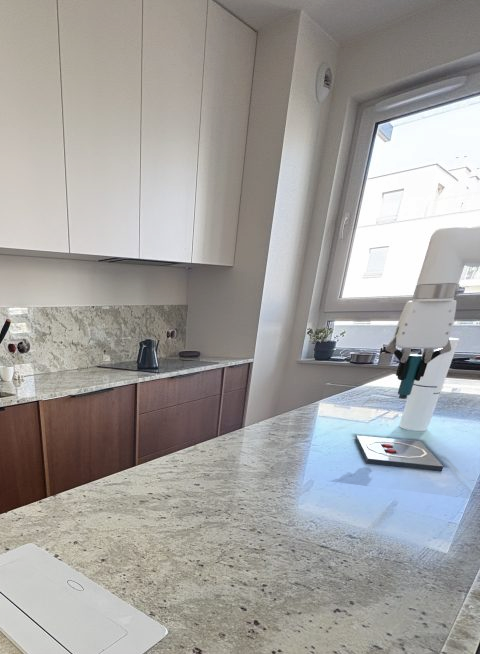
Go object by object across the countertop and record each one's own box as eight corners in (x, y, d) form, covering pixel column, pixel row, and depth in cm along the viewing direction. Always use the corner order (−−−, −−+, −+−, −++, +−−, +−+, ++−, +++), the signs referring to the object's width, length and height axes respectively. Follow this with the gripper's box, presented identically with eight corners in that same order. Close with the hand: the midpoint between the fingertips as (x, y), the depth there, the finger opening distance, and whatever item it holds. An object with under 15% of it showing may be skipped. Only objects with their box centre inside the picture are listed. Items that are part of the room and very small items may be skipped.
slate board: (419, 445, 112) (420, 440, 111) (441, 471, 96) (443, 466, 95) (355, 439, 117) (356, 435, 117) (366, 463, 101) (367, 458, 100)
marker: (407, 397, 104) (420, 354, 99) (410, 399, 102) (423, 356, 97) (395, 396, 105) (407, 354, 100) (397, 399, 103) (410, 355, 98)
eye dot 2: (392, 453, 105) (394, 449, 105) (394, 456, 104) (395, 451, 103) (384, 453, 106) (386, 448, 105) (385, 455, 104) (387, 450, 104)
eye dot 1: (389, 448, 109) (390, 444, 108) (390, 450, 107) (392, 446, 107) (381, 447, 110) (382, 443, 109) (382, 449, 108) (384, 445, 108)
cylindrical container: (394, 423, 131) (422, 337, 119) (420, 424, 129) (450, 337, 118) (404, 430, 124) (434, 339, 113) (432, 431, 123) (465, 339, 112)
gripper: (472, 292, 93) (443, 378, 102) (388, 294, 99) (367, 375, 107) (486, 292, 87) (454, 383, 95) (395, 294, 93) (372, 380, 101)
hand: (408, 378), depth 101 cm, fingers closed on marker, 2 cm apart
